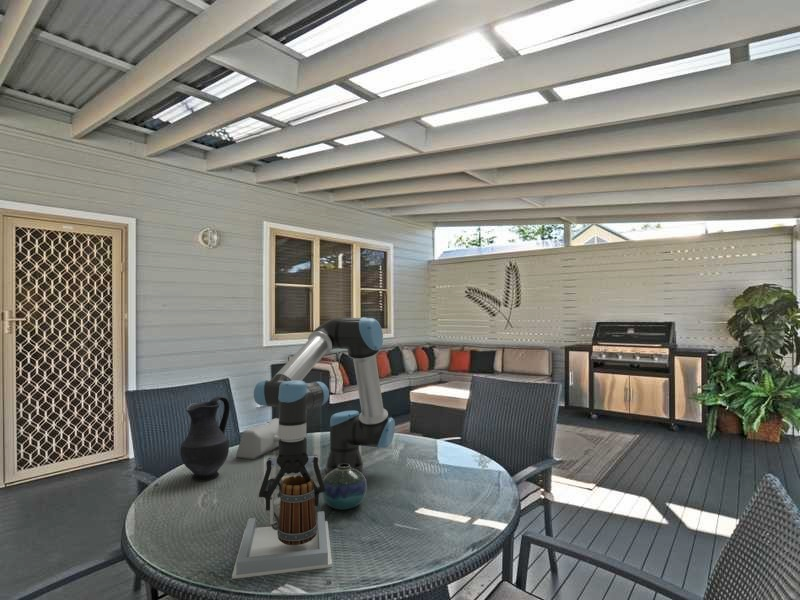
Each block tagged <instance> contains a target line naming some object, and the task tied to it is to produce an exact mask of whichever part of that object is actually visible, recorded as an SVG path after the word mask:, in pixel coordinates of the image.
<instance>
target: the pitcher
mask: <svg viewBox="0 0 800 600" xmlns="http://www.w3.org/2000/svg"><path fill="white" fill-rule="evenodd" d="M219 400H220V401H222V403H223V413H222V418H221V421H220V423H219V424H218V422H217V421H218V420H217V417H216V416H217V411H218V408H219V407H220V405H221V403H220V402H219ZM230 406H231V405H230V401H229V400H228V398H227V397H224V396H220V395H218V396H215V397H213V398H212V399H211V400H210V401H202V402H201V401H200V402H195V403H189V405H188V406H187V407H186V410H185V411H186V412H187V413H188V416H189V417H190V424H189V430H188V433H187V436H186V438H185V439H184V440H183V441H182V443H181V444H180V457H181V458H180V459H181V461H182V463H183V464H184V466H185V467H186V468H187V469H188V470H189V471H191V472H192V473H193V474H192V476H191V480H192V481H195V482H206V481H212V480H214V479H216V478H218V477H219V475H220V473H219V472H218V471H219V470H220V469H221V467H222V466H223V465H224V464H225V462H226V460H227V459H228V456H229V452H230V451H229V450H230V442H229V438H228V437H227V436H226V434H225V433H226V427H227V425H228V419H229V415H230V411H231V410H230V409H231V407H230Z"/></svg>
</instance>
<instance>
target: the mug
mask: <svg viewBox="0 0 800 600" xmlns="http://www.w3.org/2000/svg"><path fill="white" fill-rule="evenodd" d="M296 475H297V476H296V477H294V476H291V477H289V479H288V478H285V479H284V481H283V480H282V479H281V480H280V482H279V484H278V485H277V487H278V490H279V491H278V493H277V494H276V496H277V497H278V498H279V499H280V503H279V510H278V507H277V506H276V505H275V504H274V518H275V520H273V524H270V526H272V528H273V529H274V530H278V532H277V534H278V539H279V540H280V541H281V542H282V543H284V544H287V545H301V544H304V543H307V542H309V541H311V540H312V539H313V538H314V537H315V536H316V534H317V522H318V521H317V517H316V516H317V515H316V506H315V501H314V495H315V492H314V487H313V481H314V479H313V478H312V476H311V477H310V481H309V482H308V483H307V482H306V480H305V478H304V477H303V476H302V474H301V475H300V474H296ZM301 476H302V477H301ZM275 478H276V476H273V477H271V478H269V479H268V482H267V485H266V489H265V491H268V490H269V488H270V486H271V485H272V483H273V481H274V479H275ZM312 479H313V480H312ZM264 499H265V498H264ZM265 501H266V499H265ZM276 520H277V521H276Z"/></svg>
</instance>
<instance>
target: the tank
mask: <svg viewBox="0 0 800 600" xmlns="http://www.w3.org/2000/svg"><path fill="white" fill-rule="evenodd" d="M266 423H268V424H266V425H265V424H264V425H256V426H255V425H254V426H252V427H250V428H249V427H248V428H247V429H245V430H243V432H242V434H241V438H240V441H239V444H238V448H237V450H236V453H235V457H236V458H240V459H247V460H255V459H258V458H260V457H262V456H264V455H265V454H268V453H270V452H273V451H274V450H276V449H279V440H280V438H279V418H277V417H275V418H273V419H270V420H267V421H266Z"/></svg>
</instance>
